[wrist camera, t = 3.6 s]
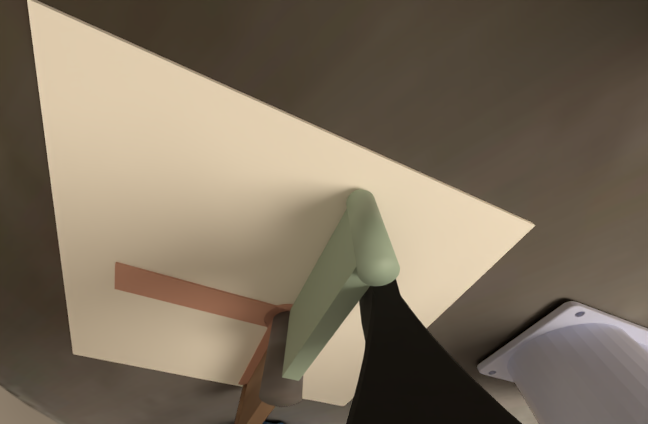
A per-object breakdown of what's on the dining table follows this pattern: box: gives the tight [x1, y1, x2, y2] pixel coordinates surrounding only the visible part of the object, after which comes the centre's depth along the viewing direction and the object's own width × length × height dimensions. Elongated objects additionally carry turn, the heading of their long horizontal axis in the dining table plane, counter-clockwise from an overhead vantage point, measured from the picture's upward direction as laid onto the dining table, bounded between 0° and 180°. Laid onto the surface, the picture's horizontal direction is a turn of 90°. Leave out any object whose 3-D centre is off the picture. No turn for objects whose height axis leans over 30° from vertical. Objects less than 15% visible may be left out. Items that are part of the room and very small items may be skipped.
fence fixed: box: [234, 311, 303, 424], centre depth 16 cm, size 2×10×4 cm, turn 156°
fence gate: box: [282, 190, 400, 381], centre depth 11 cm, size 1×8×4 cm, turn 157°
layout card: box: [27, 0, 535, 406], centre depth 14 cm, size 20×20×1 cm
